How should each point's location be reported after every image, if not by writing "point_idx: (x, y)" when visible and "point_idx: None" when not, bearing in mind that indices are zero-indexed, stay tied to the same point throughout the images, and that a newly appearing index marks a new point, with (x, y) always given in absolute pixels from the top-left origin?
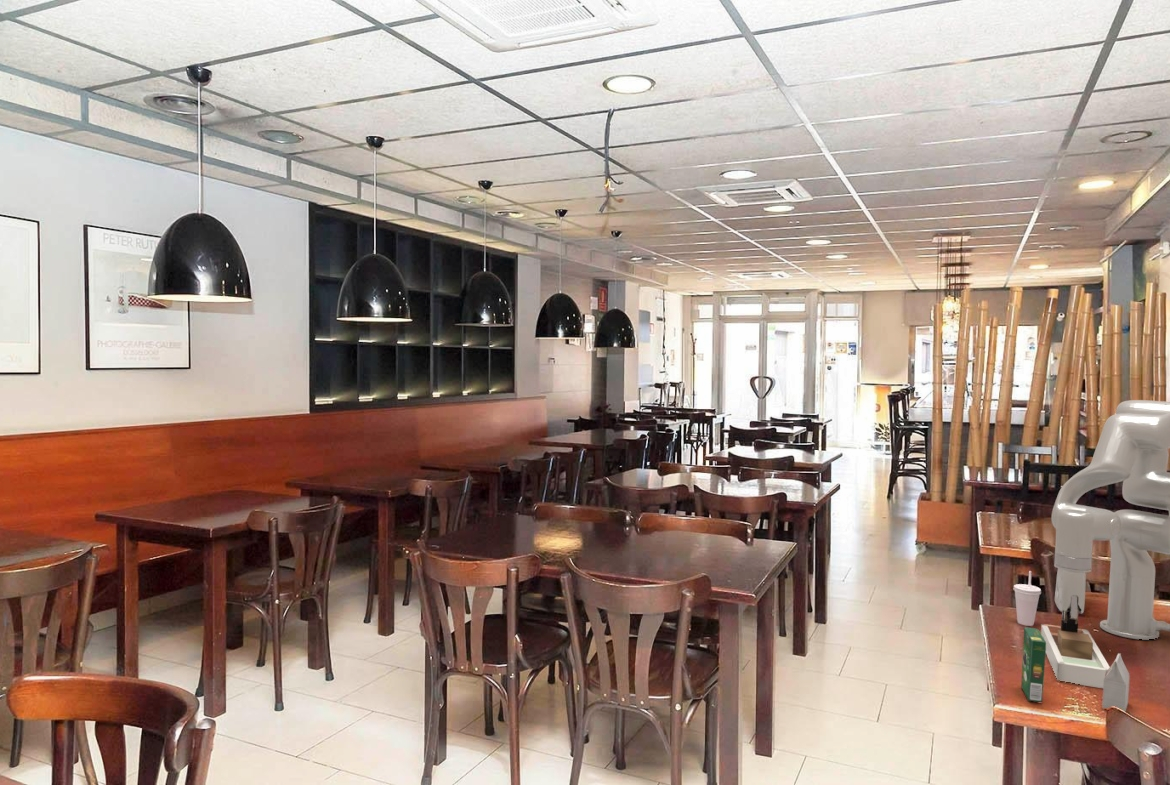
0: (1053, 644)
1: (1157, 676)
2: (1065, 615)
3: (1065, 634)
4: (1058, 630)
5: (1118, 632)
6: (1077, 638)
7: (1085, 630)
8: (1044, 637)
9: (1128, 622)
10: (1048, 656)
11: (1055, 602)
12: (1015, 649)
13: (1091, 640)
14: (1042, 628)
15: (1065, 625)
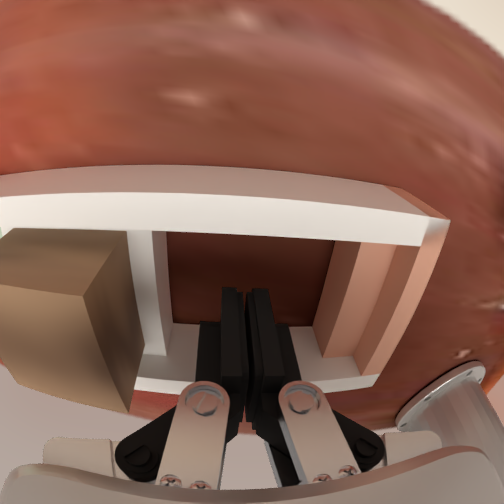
0: (27, 214)
1: (147, 417)
2: (166, 449)
3: (26, 316)
4: (75, 297)
5: (425, 395)
6: (14, 350)
7: (364, 382)
8: (280, 186)
9: (430, 424)
10: (94, 169)
11: (411, 476)
12: (185, 19)
13: (40, 391)
14: (393, 207)
15: (220, 368)
